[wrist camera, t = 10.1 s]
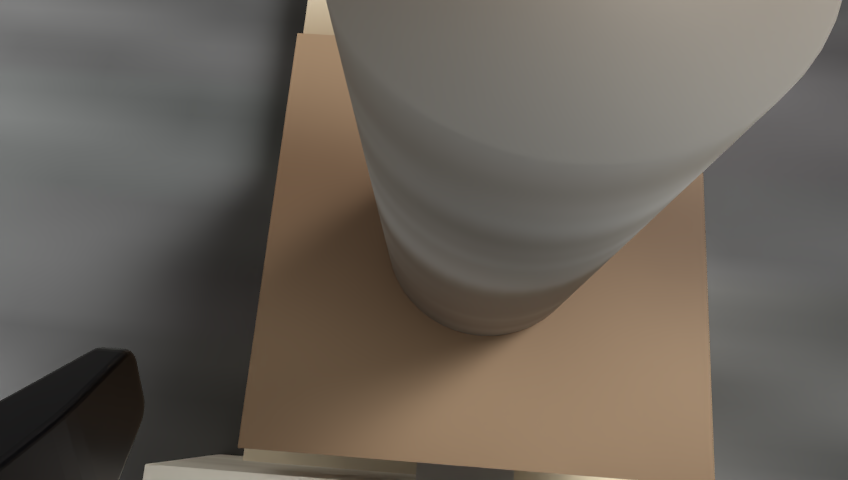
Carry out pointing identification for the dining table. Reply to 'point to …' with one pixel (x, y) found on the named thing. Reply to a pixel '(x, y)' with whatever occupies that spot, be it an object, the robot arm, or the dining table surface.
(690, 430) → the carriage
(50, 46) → the dining table surface
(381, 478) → the rail track
